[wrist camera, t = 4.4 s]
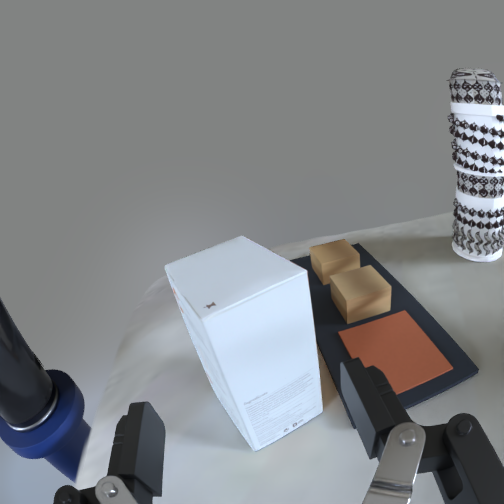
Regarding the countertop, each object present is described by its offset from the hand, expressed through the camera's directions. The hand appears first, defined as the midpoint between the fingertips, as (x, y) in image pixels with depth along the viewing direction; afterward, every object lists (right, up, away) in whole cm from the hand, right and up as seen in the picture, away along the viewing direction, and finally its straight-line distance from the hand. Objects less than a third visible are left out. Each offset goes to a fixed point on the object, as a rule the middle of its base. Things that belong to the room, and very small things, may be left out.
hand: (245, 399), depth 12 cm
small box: (+1, -7, +12) cm, 14 cm away
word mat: (+12, 0, +21) cm, 24 cm away
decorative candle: (+33, +6, +25) cm, 42 cm away
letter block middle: (+12, 0, +20) cm, 24 cm away
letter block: (+11, +3, +28) cm, 30 cm away
